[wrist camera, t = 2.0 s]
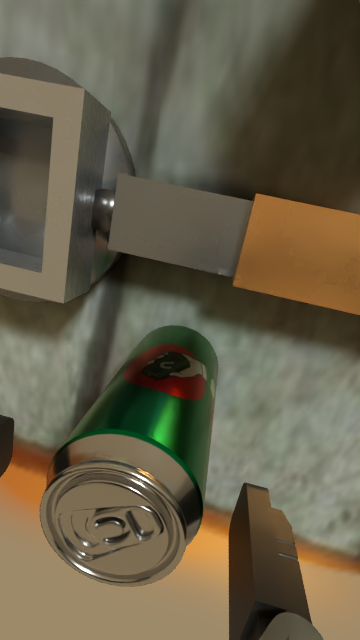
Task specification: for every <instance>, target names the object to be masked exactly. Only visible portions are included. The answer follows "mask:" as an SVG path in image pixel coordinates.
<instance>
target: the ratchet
mask: <svg viewBox="0 0 360 640" xmlns="http://www.w3.org/2000/svg"><path fill="white" fill-rule="evenodd" d="M123 253H127V254H132V255H136V256H140V257H145V258H149V259H154V260H158V261H162V262H167V263H171V264H176V265H180V266H184V267H189V268H193V269H198V270H202V271H206V272H211V273H215V274H220V275H224V276H228V277H233V286H235V287H239V288H244V289H248V290H252V291H257V292H261V293H265V294H270V295H274V296H278V297H283V298H287V299H292V300H296V301H300V302H305V303H309V304H313V305H318V306H322V307H326V308H331V309H335V310H339V311H344V312H348V313H352V314H357V315H360V215H359V214H354V213H349V212H345V211H340V210H335V209H330V208H325V207H320V206H315V205H310V204H305V203H301V202H296V201H291V200H286V199H281V198H276V197H271V196H266V195H261V194H257V193H256V194H255V196H254V197H253V198H252V201H250V200H245V199H240V198H235V197H230V196H225V195H221V194H216V193H211V192H206V191H201V190H196V189H192V188H187V187H182V186H177V185H172V184H167V183H163V182H158V181H153V180H148V179H143V178H138V177H136V176H135V169H134V165H133V162H132V158H131V154H130V152H129V149H128V147H127V144H126V142H125V139H124V137H123V136H122V134H121V132H120V130H119V128H118V126H117V125H116V123H115V122H114V120H113V119H112V118H111V112H110V111H109V110H108V109H107V108H106V107H104V106H103V105H102V104H101V103H100V102H99V101H98V100H97V99H95V98H94V97H93V96H92V95H91V94H90V93H89V92H87V91H86V90H85V89H83V88H82V87H81V86H80V85H78V84H77V83H76V82H75V81H74V80H72V79H71V78H70V77H68V76H67V75H65V74H63V73H62V72H60V71H58V70H57V69H55V68H52V67H50V66H48V65H46V64H43V63H41V62H37V61H33V60H29V59H24V58H14V57H6V58H0V295H2V296H5V297H8V298H12V299H15V300H21V301H27V302H45V301H55V302H59V303H63V304H64V303H66V302H68V301H70V300H72V299H74V298H76V297H78V296H80V295H82V294H84V293H86V292H88V291H89V290H90V286H91V285H92V284H94V283H96V282H97V281H99V280H100V279H101V278H102V277H103V276H105V275H106V274H107V273H108V272H109V271H110V270H111V269H112V268H113V266H114V265H115V264H116V263H117V261H118V260H119V258H120V257H121V255H122V254H123Z"/></svg>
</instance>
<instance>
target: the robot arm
mask: <svg viewBox="0 0 360 640" xmlns="http://www.w3.org/2000/svg"><path fill="white" fill-rule="evenodd" d="M13 434H14V420H13V418H10V417H6V416H2V415H0V477H1V476H2V475H3V474H4V472H5V471H6V469H7V467H8V466H9V463H10V461H11V457H12V449H13ZM229 640H323V638H322V637H321V635H320V633H319V632H318V631H317V630H316V628H315V627H314V626H313V625H312V622H311V618H310V613H309V609H308V604H307V599H306V594H305V589H304V585H303V580H302V575H301V570H300V565H299V562H298V556H297V551H296V547H295V542H294V537H293V532H292V527H291V525H290V524H289V522H288V520H287V519H286V517H285V515H284V513H283V512H282V511H281V510H278V509H274V508H271V503H270V497H269V491H268V489H267V488H263V487H260V486H256V485H252V484H249V483H244V484H243V486H242V489H241V492H240V495H239V498H238V501H237V504H236V506H235V509H234V512H233V515H232V519H231V523H230V529H229Z"/></svg>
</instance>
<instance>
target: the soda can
mask: <svg viewBox="0 0 360 640" xmlns="http://www.w3.org/2000/svg"><path fill="white" fill-rule="evenodd" d="M217 376H218V360H217V356H216V353H215V351H214V349H213V347H212V346H211V344H210V343H209V342H208V340H207V339H206V338H205V337H204V336H202V335H201V334H199V333H198V332H196V331H194V330H192V329H190V328H187V327H183V326H173V325H172V326H164V327H161V328H158V329H156V330H154V331H152V332H151V333H149V334H148V335H147V336H146V337H145V338H144V339H143V340H142V341H141V343H140V344H139V345H138V347H137V348H136V349H135V351H134V352H133V353H132V354H131V356H130V357H129V358H128V360H127V361H126V362H125V364H124V365H123V366H122V368H121V369H120V370H119V371H118V373H117V374H116V375H115V377H114V378H113V379H112V381H111V382H110V383H109V385H108V386H107V387H106V388H105V390H104V391H103V392H102V394H101V395H100V396H99V398H98V399H97V400H96V402H95V403H94V404H93V405H92V407H91V408H90V409H89V411H88V412H87V413H86V415H85V416H84V417H83V419H82V420H81V421H80V422H79V424H78V425H77V426H76V428H75V429H74V430H73V432H72V433H71V434H70V436H69V437H68V438H67V439H66V441H65V442H64V443H63V445H62V446H61V447H60V449H59V450H58V451H57V453H56V454H55V456H54V457H53V459H52V461H51V463H50V466H49V469H48V474H47V487H46V489H45V492H44V494H43V496H42V500H41V505H40V521H41V526H42V528H43V532H44V535H45V536H46V538H47V540H48V542H49V544H50V545H51V547H52V548H53V549H54V551H55V552H56V553H57V554H58V555H59V556H60V557H61V558H62V560H64V561H65V562H66V563H67V564H68V565H69V566H71V567H72V568H74V569H75V570H77V571H78V572H79V573H82V574H83V575H85V576H87V577H89V578H91V579H94V580H96V581H99V582H102V583H106V584H110V585H116V586H130V587H132V586H142V585H146V584H150V583H153V582H156V581H158V580H160V579H162V578H164V577H165V576H167V575H168V574H170V573H171V572H172V571H173V570H174V569H175V568H176V566H177V565H178V564H179V562H180V561H181V559H182V556H183V554H184V552H185V549H186V546H187V545H188V544H189V543H190V542H191V541H192V540H193V538H194V537H195V535H196V534H197V532H198V530H199V528H200V525H201V522H202V517H203V511H204V501H205V492H206V482H207V472H208V463H209V453H210V444H211V434H212V424H213V415H214V405H215V395H216V386H217Z"/></svg>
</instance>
